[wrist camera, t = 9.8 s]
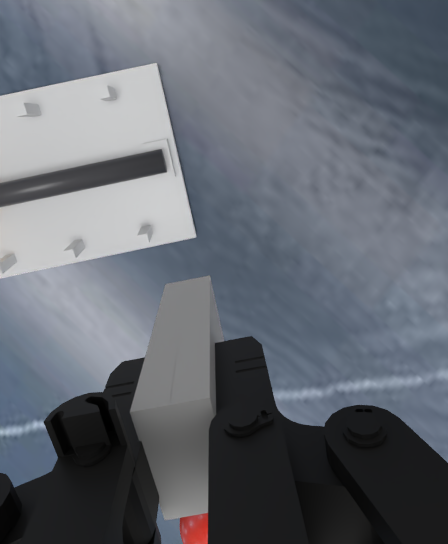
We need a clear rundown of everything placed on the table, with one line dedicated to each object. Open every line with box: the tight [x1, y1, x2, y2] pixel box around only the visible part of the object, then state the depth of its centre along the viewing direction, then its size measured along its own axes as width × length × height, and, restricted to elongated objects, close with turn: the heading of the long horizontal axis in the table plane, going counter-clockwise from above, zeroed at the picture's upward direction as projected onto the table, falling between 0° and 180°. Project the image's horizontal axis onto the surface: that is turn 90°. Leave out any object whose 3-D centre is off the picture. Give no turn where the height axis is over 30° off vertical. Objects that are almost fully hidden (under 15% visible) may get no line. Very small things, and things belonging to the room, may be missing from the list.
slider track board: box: [0, 63, 196, 278], centre depth 33 cm, size 26×14×6 cm, turn 101°
